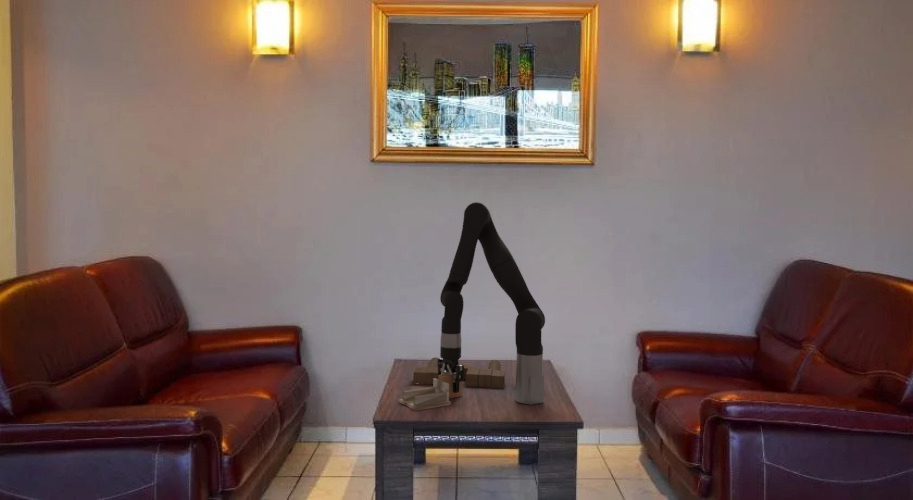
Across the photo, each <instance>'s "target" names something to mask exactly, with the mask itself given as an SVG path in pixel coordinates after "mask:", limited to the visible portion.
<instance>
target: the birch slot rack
mask: <svg viewBox="0 0 913 500" xmlns="http://www.w3.org/2000/svg"><path fill="white" fill-rule="evenodd" d="M398 402H399V403H400V404H403V406H406V407H408V408H410V409H412V410H413V411H421V410H427V409H434V408H439V407H445V406H451V404H452V401H450V398H449V384H448V383H446V382H443V381H441V380H438V379H436V378H433V385H432V386H429V387H421V388H415V389H410V390H403V391H402V398H399V399H398Z"/></svg>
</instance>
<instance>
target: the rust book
mask: <svg viewBox="0 0 913 500" xmlns="http://www.w3.org/2000/svg"><path fill="white" fill-rule="evenodd" d="M453 374H455V373H453ZM459 376H460V378H461V375H459ZM455 379H456V376H455ZM438 380H441V381H443V382H446V383H448V384H449V399H452V398H458V397H462V396H463V381H461V382H460V383H459V392H458V393H454V392H453V379H452V377H451V376H450V374H442V375H438Z"/></svg>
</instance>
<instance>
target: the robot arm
mask: <svg viewBox="0 0 913 500" xmlns="http://www.w3.org/2000/svg"><path fill="white" fill-rule="evenodd" d="M461 229H462V230H461V233H460V234H461V235H460V238H459V242H458V245H457V249H456V251H455V255H454V258H453V261H452V263H451V267H450V270H449V274H448V277H447V279H446V281H445V284H444V285H443V287H442V291H441V293H440V298H439V299H440V300H439V301H440V303H441V305H442V306H443V307H444V314H443V317H442V318H441V329H440V330H441V334H440V344H439V345H440V348H439V349H440V353H439V355H440V358H439V359H438V375H442V374H449V373H450V376H451V377H452V379H453V392H454V393H458V392H459V383H460V382H461V381H462V382H464V380H463V378H464V365H465V364H464V365H460V361H459V359H461V358H462V321H461V320H462V317H463V311H464V297H463V294H462V293H461V292H462V289H463V287H464V286H465V285H466V284H467V283H468V280H469V277H470V275H471V274H470V273H471V271H472V267H473V262H474V260H475V258H474V257H475V254H476V253H475V252H476V248H477V244H478V242H479V243H480V245H481V248H482V250H483V254H484V257H485V261H486V263H487V265H488V267H489V269H490V271H491V273H492V275H493V277H494V279H495V281H496V283H497V284H498V285H499V286H500V288H501V289H502V290H503V291H504V293H505V294H506V295H507V296H508V297H509V298H510V300H511V301H512V303H513V305H514V307H515V310H516V312H517V315H516V319H515V325H514V326H515V329H514V330H515V347H516V360H515V361H516V364H515V365H516V367H515V370H516V372H515V401H516V402H517V403H520V404H523V405H529V406H531V405H532V406H533V405H537V404H538V405H539V404H542V403H544V394H545V393H544V390H545V389H544V388H545V377H544V375H543V362H544V361H543V360H544V358H543V357H544V356H543V354H544V347H543V344H542V330H543V328H545V323H546V317H545V314H544V312H543V310H542V309H541V307H540V305H539V304H538V303H537V302H536V300H535V298H534V297H533V295H532V293H531V292H530V289H529V287H528V284H527V283H526V281H525V279H524V277H523V274H522V272H521V270H520V268H519V265H518V264H517V262H516V260H515V259H514V257H513V255H512V252H510V250H509V248H508V246H507V245H506V243H505V242H504V241H503V239H502V238H501V236H500V235H499V233H498V231H497V228H496V225H495V224H494V221H493V219H492V214H491V212H490V210H489V208H488V207H487V206H486V205H485V204H484V203H481V202H477V201H476V202H475V201H474V202H472V203H470V204H468V205H467V206H466V208H465V209H464V212H463V220H462V228H461ZM441 368H442V369H441ZM440 369H441V371H440ZM455 372H456V373H455ZM453 373H455V374H453ZM459 375H461V378H460V376H459ZM455 376H456V379H455Z"/></svg>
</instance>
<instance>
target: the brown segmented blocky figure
mask: <svg viewBox="0 0 913 500" xmlns="http://www.w3.org/2000/svg"><path fill="white" fill-rule="evenodd" d="M438 359H440V358H439V357H432V358H431V359H430V361H429V363H428V364H427V365H426V366H422V367H421V366H420V367H419V366H418V367H416V368H415V370H414V371H413V376H412V377H413V378H412V381H413V382H412V384H413V383H419V384H418V385H422V384H433V378H436V379H438ZM459 365H464V378H463V381H464V380H465V387H473V388H474V387H476V388H477V387H478V388H492V389H493V388H496V389H504V388H505V383H506V377H505V376H506V371H504V370H501V362H500V361H499V360H498V359H492V360H490V361H489V363H488V368H478V367H475V366H470V365H468V364H463V363H462V364H460V363H459ZM441 369H442V368H441ZM441 369H440V371H441ZM455 373H456V372H455ZM449 374H450V373H449Z"/></svg>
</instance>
